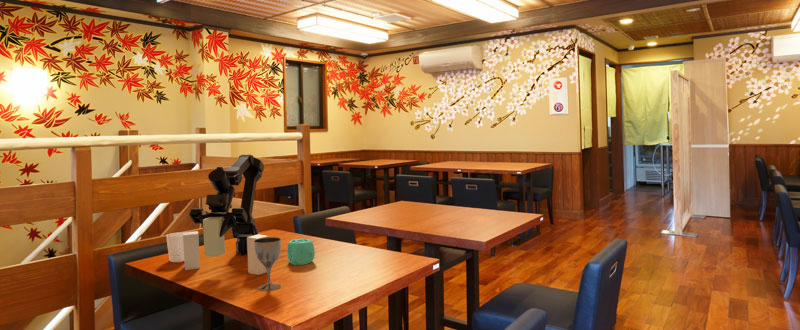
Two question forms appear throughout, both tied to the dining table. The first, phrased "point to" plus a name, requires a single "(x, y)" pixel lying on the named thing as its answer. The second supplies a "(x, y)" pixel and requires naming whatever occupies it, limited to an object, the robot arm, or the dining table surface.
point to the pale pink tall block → (191, 250)
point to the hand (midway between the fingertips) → (212, 236)
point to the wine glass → (268, 257)
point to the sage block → (213, 237)
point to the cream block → (254, 256)
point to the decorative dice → (300, 251)
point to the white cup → (175, 247)
